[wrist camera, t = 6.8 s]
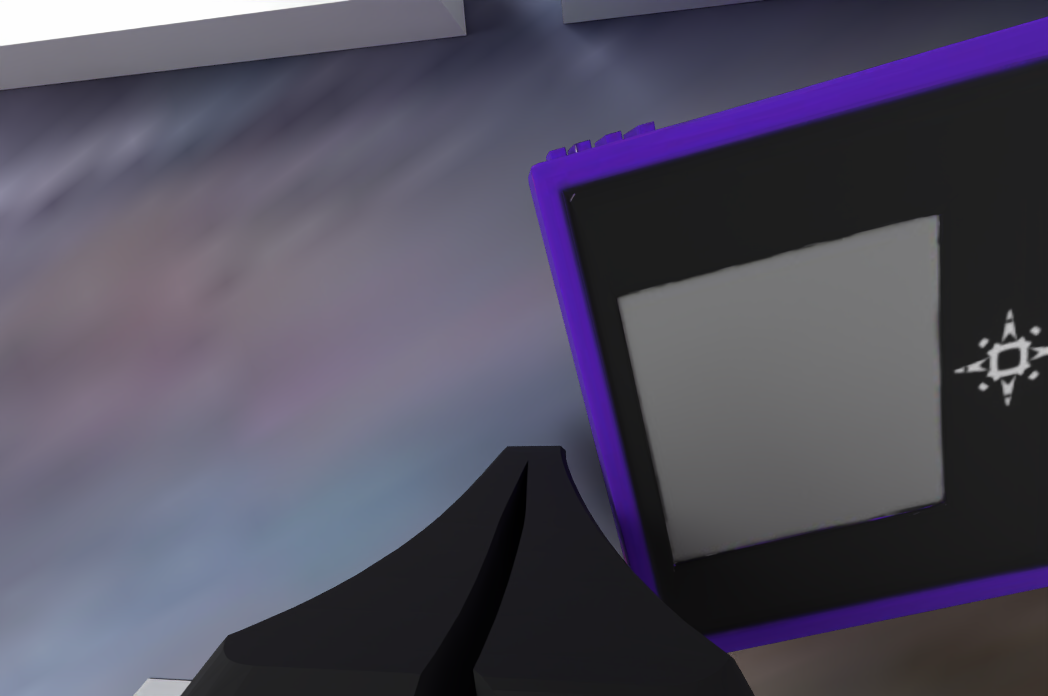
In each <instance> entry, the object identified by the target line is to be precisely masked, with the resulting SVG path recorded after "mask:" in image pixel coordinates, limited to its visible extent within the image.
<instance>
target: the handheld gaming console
mask: <svg viewBox="0 0 1048 696" xmlns="http://www.w3.org/2000/svg"><path fill="white" fill-rule="evenodd" d="M623 136H624V139H622V134H621V131H618V132H614V133H611V134H608V135H605V136H604V137H602V138H601V139H600V140H598V141H597V142H596V143H595V147H594V148H592V147H591V142H590V140H587V141H583V142H580V143H577V144H574V145H573V146H572V147H571V148H570V149H569V150H568V155H567V153H566V149H565V147H563V148H559V149H556V150H552V151H549V153H548V155H547V157H546V160H547V161H545V162H542V163H538V164H536V165H534V166H532V168H531V170H530V174H529V177H528V179H529V186H530V190H531V194H532V198H533V201H534V205H535V209H536V213H537V217H538V221H539V225H540V229H541V233H542V237H543V241H544V245H545V249H546V253H547V257H548V261H549V265H550V268H551V272H552V276H553V280H554V284H555V288H556V292H557V296H558V300H559V304H560V308H561V312H562V316H563V320H564V324H565V328H566V332H567V335H568V339H569V343H570V347H571V351H572V355H573V359H574V363H575V367H576V371H577V375H578V379H579V383H580V387H581V391H582V395H583V399H584V403H585V406H586V410H587V414H588V418H589V422H590V426H591V430H592V434H593V438H594V442H595V446H596V450H597V454H598V458H599V462H600V466H601V470H602V473H603V477H604V481H605V485H606V489H607V493H608V497H609V501H610V505H611V509H612V513H613V517H614V521H615V525H616V529H617V533H618V537H619V540H620V544H621V548H622V552H623V555H624V559H625V562H626V564H627V565H628V566H629V567H630V568H631V569H632V571H633V572H634V573H635V574H636V575H637V576H638V577H639V578H640V579H641V580H642V581H643V582H644V583H645V584H646V585H647V586H648V587H649V588H650V589H651V590H652V591H653V592H654V593H655V594H656V595H657V596H658V597H659V598H660V599H661V600H662V601H663V602H664V603H665V604H666V605H667V606H668V607H669V608H670V609H671V610H672V611H674V612H675V613H676V614H677V615H678V616H679V617H680V618H681V619H683V620H684V621H685V622H686V623H688V624H689V625H690V626H692V627H693V628H694V629H696V630H697V631H698V632H700V633H701V634H702V635H703V636H705V637H706V638H707V639H709V640H710V641H711V642H713V643H714V644H715V645H717V646H718V647H719V648H721V649H722V650H723V651H725V652H726V653H728V652H733V651H738V650H743V649H748V648H752V647H757V646H762V645H767V644H772V643H777V642H781V641H786V640H791V639H796V638H801V637H806V636H811V635H815V634H820V633H825V632H830V631H835V630H840V629H844V628H849V627H854V626H859V625H864V624H869V623H874V622H878V621H883V620H888V619H893V618H898V617H903V616H908V615H912V614H917V613H922V612H927V611H932V610H937V609H942V608H946V607H951V606H956V605H961V604H966V603H971V602H976V601H980V600H985V599H990V598H995V597H1000V596H1005V595H1010V594H1014V593H1019V592H1024V591H1029V590H1034V589H1039V588H1044V587H1048V17H1045V18H1041V19H1038V20H1034V21H1031V22H1027V23H1024V24H1021V25H1017V26H1014V27H1010V28H1007V29H1003V30H1000V31H996V32H993V33H989V34H986V35H982V36H979V37H975V38H972V39H968V40H965V41H962V42H958V43H955V44H951V45H948V46H944V47H941V48H937V49H934V50H931V51H927V52H924V53H920V54H917V55H914V56H910V57H907V58H903V59H900V60H897V61H893V62H890V63H886V64H883V65H880V66H876V67H873V68H869V69H866V70H863V71H859V72H856V73H852V74H849V75H846V76H842V77H839V78H835V79H832V80H829V81H825V82H822V83H818V84H815V85H812V86H808V87H805V88H801V89H798V90H794V91H791V92H787V93H784V94H780V95H777V96H774V97H770V98H767V99H763V100H760V101H756V102H753V103H749V104H746V105H742V106H739V107H735V108H732V109H728V110H725V111H721V112H718V113H715V114H711V115H708V116H704V117H701V118H697V119H694V120H690V121H687V122H683V123H679V124H676V125H672V126H668V127H665V128H661V129H657V130H655V125H654V121H653V122H649V123H646V124H642V125H639V126H637V127H635V128H634V129H632V130H631V131H629V132H627V133H626V134H624V135H623Z"/></svg>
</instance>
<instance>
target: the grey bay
mask: <svg viewBox="0 0 1048 696" xmlns="http://www.w3.org/2000/svg"><path fill="white" fill-rule="evenodd" d="M465 35H466V25H465V14H464V4H463V0H0V90H6V89H15V88H23V87H32V86H40V85H49V84H57V83H66V82H74V81H83V80H91V79H100V78H108V77H117V76H125V75H134V74H142V73H151V72H159V71H168V70H176V69H185V68H193V67H202V66H210V65H219V64H227V63H236V62H244V61H253V60H261V59H270V58H278V57H287V56H295V55H304V54H312V53H321V52H329V51H338V50H346V49H355V48H363V47H372V46H380V45H389V44H397V43H406V42H414V41H422V40H431V39H439V38H448V37H456V36H465ZM190 683H191V681H182V680H163V679H147V681H146V682H145V683H144V684H143V685H142V686H141V687H140V689H139V690H138V691H137V692H136V693H135V694H134V695H133V696H180V695H181V694H182V693H183V692H184V690H185V689H186V688H187V687H188V685H189V684H190Z"/></svg>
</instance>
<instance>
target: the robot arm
mask: <svg viewBox="0 0 1048 696" xmlns="http://www.w3.org/2000/svg"><path fill="white" fill-rule="evenodd" d="M180 696H754V694H753V692H752V690H751V688H750V686H749V685H748V683H747V681H746V679H745V677H744V676H743V674H742V672H741V670H740V669H739V667H738V665H737V664H736V662H735V660H734V659H733V658H732V657H731V656H730V655H729V654H727V653H726V652H725V651H723V650H722V649H721V648H719V647H718V646H717V645H715V644H714V643H713V642H711V641H710V640H709V639H707V638H706V637H705V636H703V635H702V634H701V633H700V632H698V631H697V630H696V629H694V628H693V627H692V626H690V625H689V624H688V623H686V622H685V621H684V620H683V619H681V618H680V617H679V616H678V615H677V614H676V613H675V612H674V611H672V610H671V609H670V608H669V607H668V606H667V605H666V604H665V603H664V602H663V601H662V600H661V599H660V598H659V597H658V596H657V595H656V594H655V593H654V592H653V591H652V590H651V589H650V588H649V587H648V586H647V585H646V584H645V583H644V582H643V581H642V580H641V579H640V578H639V577H638V576H637V575H636V574H635V573H634V572H633V571H632V569H631V568H630V567H629V566H628V565H627V564H626V562H625V561H624V560H623V559H622V558H621V556H620V555H619V554H618V553H617V551H616V550H615V549H614V547H613V546H612V545H611V544H610V542H609V541H608V540H607V538H606V537H605V535H604V534H603V532H602V531H601V530H600V528H599V527H598V525H597V523H596V522H595V520H594V519H593V517H592V515H591V514H590V512H589V510H588V509H587V507H586V505H585V503H584V501H583V500H582V498H581V496H580V494H579V491H578V489H577V487H576V485H575V483H574V481H573V479H572V476H571V473H570V471H569V468H568V465H567V461H566V451H565V450H564V449H563V448H562V447H561V446H509V447H506V448H505V449H504V450H503V451H502V452H501V454H500V455H499V456H498V457H497V458H496V459H495V460H494V461H493V463H492V464H491V465H490V466H489V467H488V468H487V469H486V471H485V472H484V473H483V474H482V475H481V476H480V477H479V478H478V479H477V480H476V481H475V482H474V483H473V485H472V486H471V487H470V488H469V489H468V490H467V491H466V492H465V493H464V494H463V495H462V496H461V497H460V498H459V499H458V500H457V501H456V502H455V503H454V504H453V505H451V506H450V507H449V508H448V509H447V510H446V511H445V512H444V513H443V514H442V515H441V516H440V517H438V518H437V519H436V520H435V521H434V522H433V523H431V524H430V525H429V526H428V527H426V528H425V529H424V530H423V531H421V532H420V533H419V534H417V535H416V536H415V537H413V538H412V539H411V540H409V541H408V542H407V543H405V544H404V545H402V546H401V547H400V548H398V549H397V550H395V551H394V552H392V553H390V554H389V555H387V556H386V557H384V558H383V559H381V560H379V561H378V562H376V563H375V564H373V565H372V566H370V567H368V568H367V569H365V570H364V571H362V572H361V573H359V574H357V575H355V576H354V577H352V578H350V579H348V580H346V581H345V582H343V583H341V584H339V585H337V586H336V587H334V588H332V589H330V590H328V591H326V592H324V593H322V594H320V595H318V596H316V597H314V598H312V599H310V600H308V601H306V602H304V603H302V604H300V605H298V606H296V607H294V608H291V609H289V610H287V611H285V612H282V613H280V614H278V615H275V616H273V617H271V618H268V619H266V620H264V621H261V622H259V623H257V624H255V625H252V626H250V627H248V628H245V629H243V630H240V631H238V632H235V633H233V634H230V635H228V636H227V637H226V638H225V640H224V641H223V642H222V643H221V644H220V646H219V647H218V648H217V649H216V651H215V652H214V653H213V654H212V656H211V657H210V658H209V660H208V661H207V662H206V663H205V665H204V666H203V667H202V669H201V670H200V671H199V672H198V674H197V675H196V676H195V678H194V679H193V680H192V681H191V683H190V684H189V685H188V687H187V688H186V689H185V690H184V692H183V693H182V694H181V695H180Z"/></svg>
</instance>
